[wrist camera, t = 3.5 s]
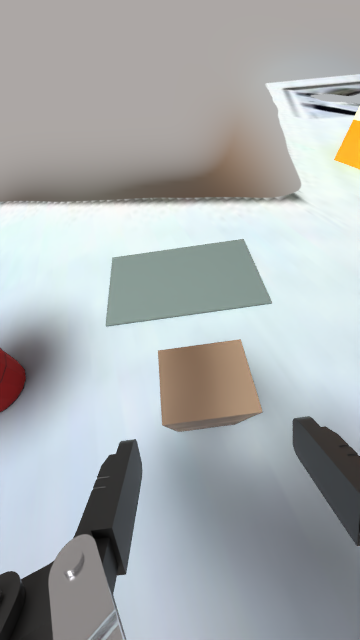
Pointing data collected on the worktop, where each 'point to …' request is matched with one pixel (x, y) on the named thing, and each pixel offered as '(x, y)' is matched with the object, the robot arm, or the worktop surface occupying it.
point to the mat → (183, 282)
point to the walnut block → (206, 386)
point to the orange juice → (351, 144)
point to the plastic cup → (10, 380)
